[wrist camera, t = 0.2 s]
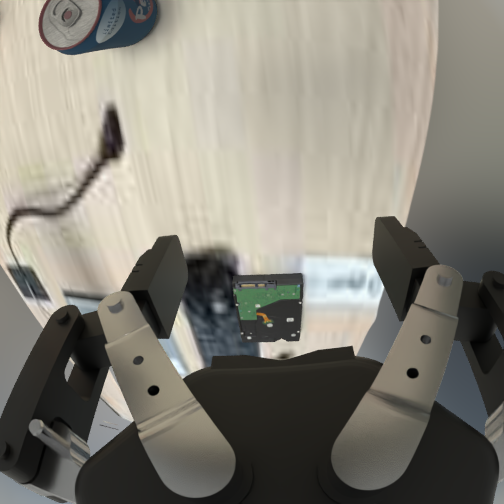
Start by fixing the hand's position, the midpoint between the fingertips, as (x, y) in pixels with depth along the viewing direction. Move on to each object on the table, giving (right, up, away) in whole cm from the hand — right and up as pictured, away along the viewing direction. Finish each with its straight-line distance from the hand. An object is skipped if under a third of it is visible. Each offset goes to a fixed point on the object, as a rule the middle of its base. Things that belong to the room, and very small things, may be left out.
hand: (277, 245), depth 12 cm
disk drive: (+2, -9, +37) cm, 38 cm away
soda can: (-14, +24, +10) cm, 29 cm away
